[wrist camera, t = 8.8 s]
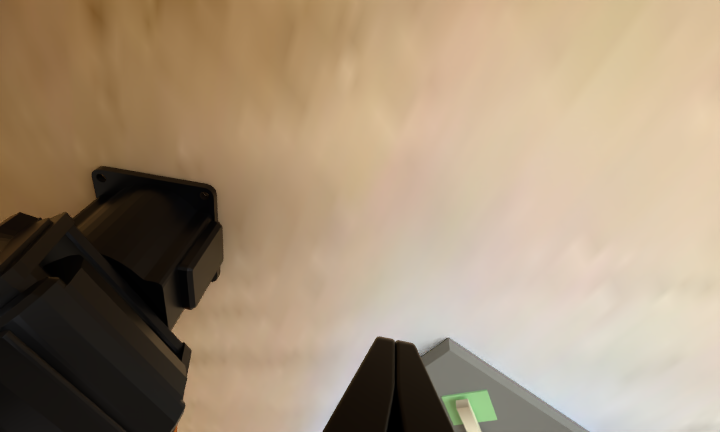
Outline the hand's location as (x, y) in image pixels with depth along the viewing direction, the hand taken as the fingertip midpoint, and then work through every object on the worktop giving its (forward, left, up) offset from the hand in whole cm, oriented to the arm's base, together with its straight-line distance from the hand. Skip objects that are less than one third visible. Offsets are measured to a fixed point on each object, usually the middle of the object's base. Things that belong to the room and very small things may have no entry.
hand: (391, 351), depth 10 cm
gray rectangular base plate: (+9, -21, -13) cm, 26 cm away
